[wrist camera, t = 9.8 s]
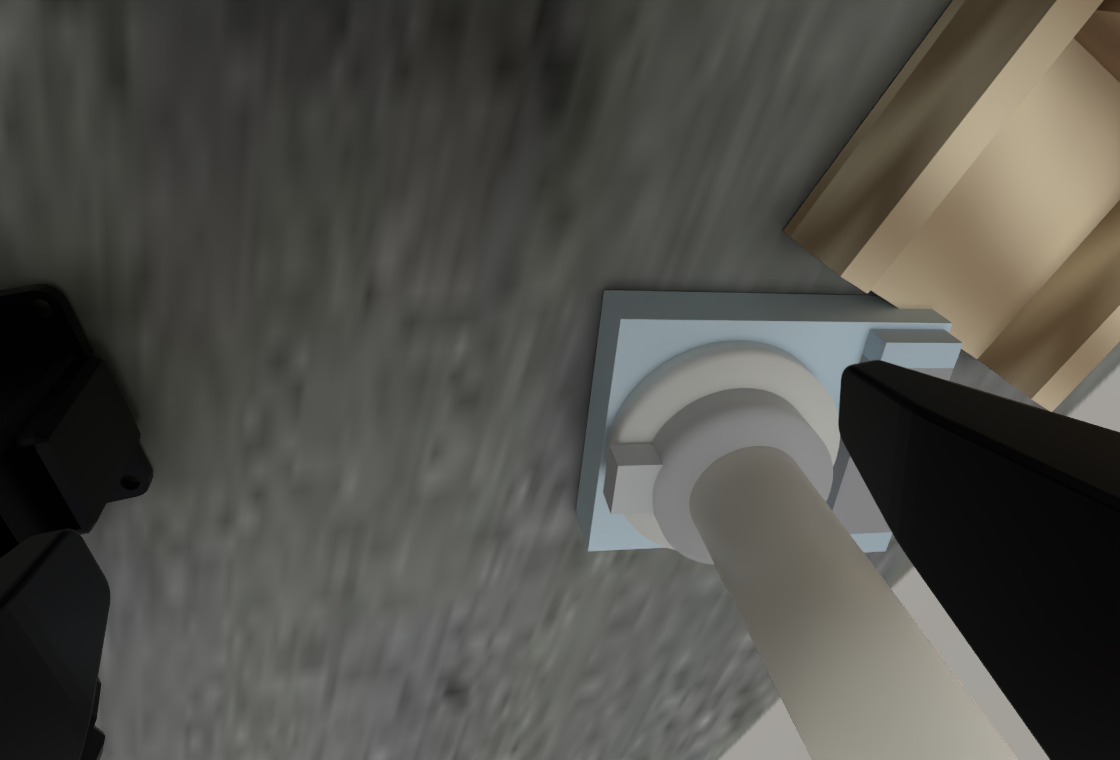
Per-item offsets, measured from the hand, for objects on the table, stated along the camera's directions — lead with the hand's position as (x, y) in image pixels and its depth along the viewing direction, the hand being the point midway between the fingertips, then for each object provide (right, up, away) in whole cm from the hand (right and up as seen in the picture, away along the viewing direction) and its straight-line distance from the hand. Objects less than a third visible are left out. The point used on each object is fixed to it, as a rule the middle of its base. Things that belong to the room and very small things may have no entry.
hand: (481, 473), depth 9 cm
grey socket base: (+7, 0, +16) cm, 18 cm away
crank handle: (+6, -1, +14) cm, 15 cm away
